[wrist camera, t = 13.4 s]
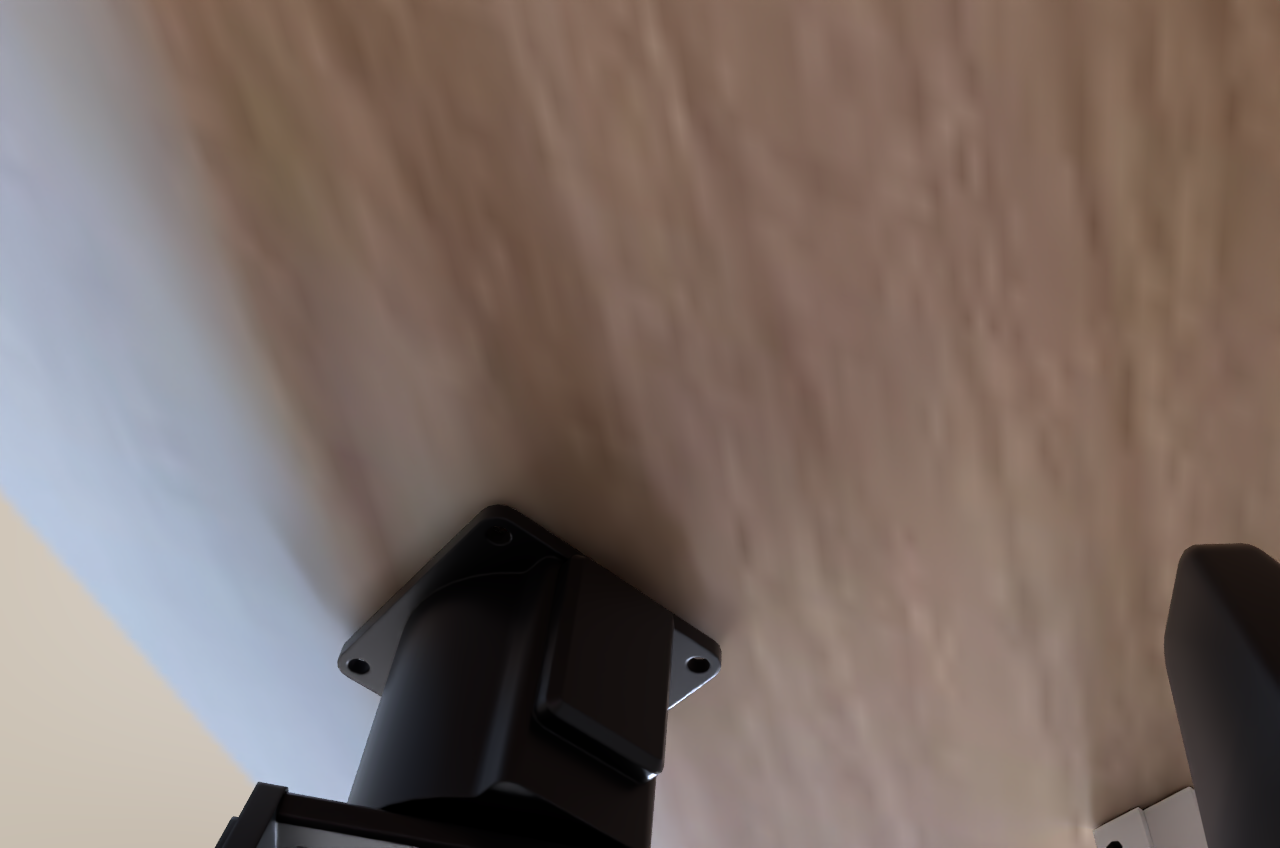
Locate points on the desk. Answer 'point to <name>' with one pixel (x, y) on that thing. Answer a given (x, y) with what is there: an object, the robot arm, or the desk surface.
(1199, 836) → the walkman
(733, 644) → the desk surface
